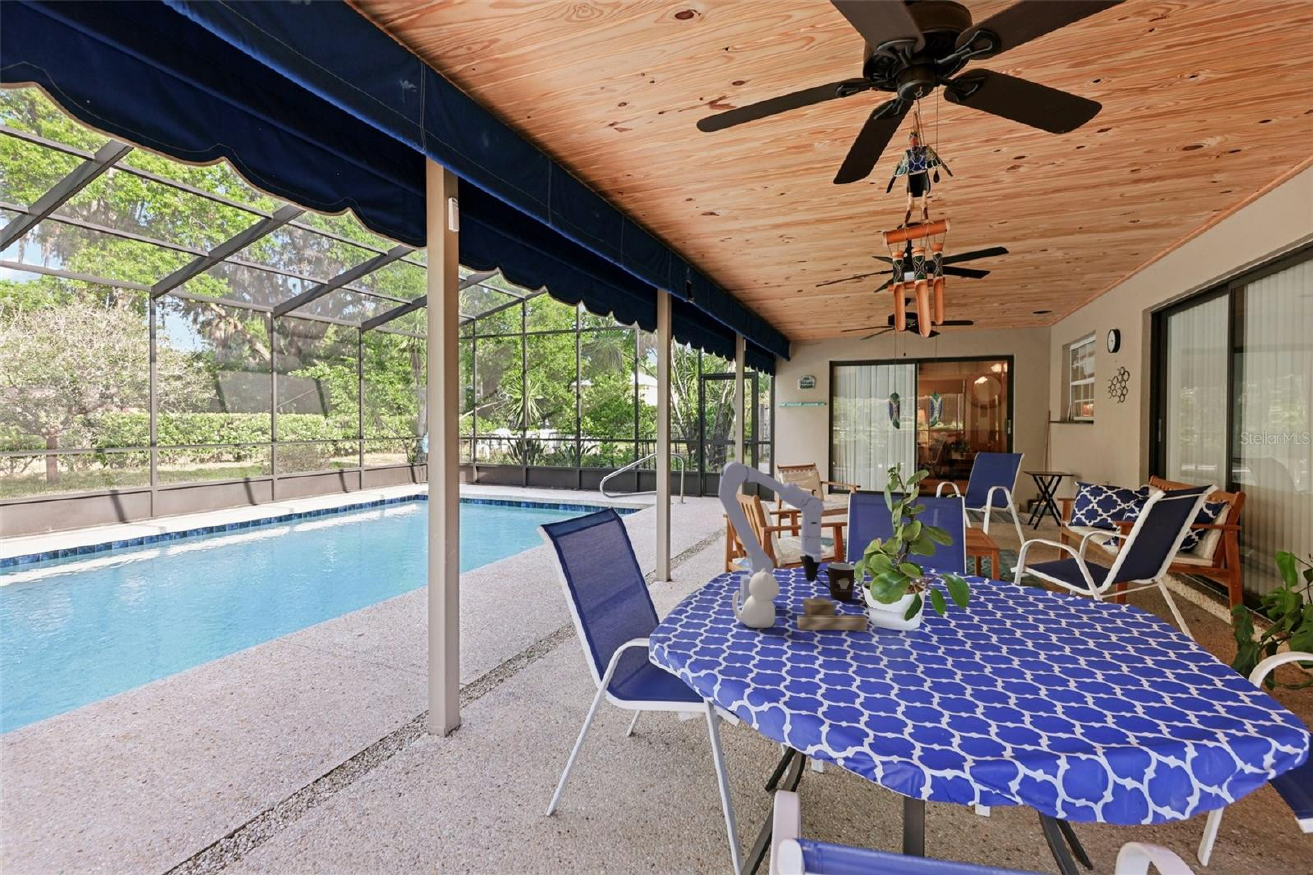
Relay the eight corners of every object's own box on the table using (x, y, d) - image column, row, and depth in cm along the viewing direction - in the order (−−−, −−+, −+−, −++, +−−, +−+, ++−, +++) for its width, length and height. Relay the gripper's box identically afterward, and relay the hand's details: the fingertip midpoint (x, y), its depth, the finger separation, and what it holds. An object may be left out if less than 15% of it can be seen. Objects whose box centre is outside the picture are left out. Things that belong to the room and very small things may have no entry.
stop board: (799, 629, 155) (799, 617, 154) (797, 626, 157) (797, 614, 157) (867, 630, 155) (867, 617, 155) (863, 626, 158) (863, 614, 158)
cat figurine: (780, 632, 153) (782, 575, 152) (731, 629, 154) (733, 572, 154) (776, 621, 162) (778, 567, 161) (731, 618, 163) (733, 564, 163)
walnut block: (810, 619, 164) (810, 604, 164) (802, 612, 170) (803, 598, 170) (834, 618, 165) (834, 604, 165) (826, 611, 171) (826, 598, 171)
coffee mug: (858, 596, 186) (859, 565, 185) (851, 603, 178) (852, 571, 178) (821, 591, 192) (822, 560, 192) (813, 597, 184) (814, 565, 184)
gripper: (832, 540, 169) (831, 587, 169) (816, 531, 183) (816, 574, 183) (808, 540, 168) (807, 587, 169) (794, 531, 183) (793, 574, 183)
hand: (810, 580), depth 176 cm, fingers closed
